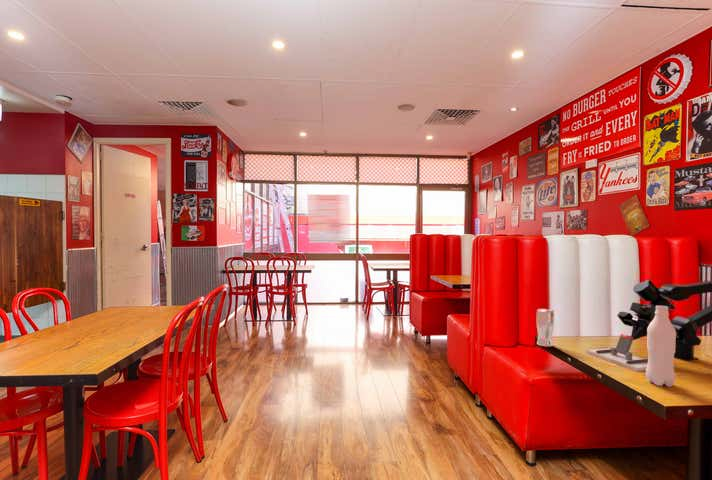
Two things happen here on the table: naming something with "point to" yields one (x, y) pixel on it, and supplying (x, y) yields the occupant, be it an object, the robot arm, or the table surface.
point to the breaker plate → (620, 358)
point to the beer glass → (545, 327)
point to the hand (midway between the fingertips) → (632, 339)
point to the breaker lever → (624, 344)
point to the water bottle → (661, 348)
